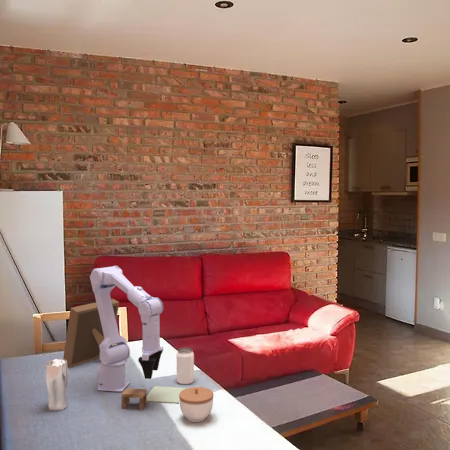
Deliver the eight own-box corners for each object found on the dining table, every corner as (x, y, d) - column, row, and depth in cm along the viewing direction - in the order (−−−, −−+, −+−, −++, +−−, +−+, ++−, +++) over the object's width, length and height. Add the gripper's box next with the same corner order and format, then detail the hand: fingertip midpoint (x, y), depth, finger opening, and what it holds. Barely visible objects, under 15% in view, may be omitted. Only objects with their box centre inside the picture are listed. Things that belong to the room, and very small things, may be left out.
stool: (121, 408, 154) (121, 393, 154) (126, 402, 159) (126, 388, 158) (142, 410, 153) (142, 395, 153) (146, 403, 158) (146, 389, 157)
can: (191, 385, 173) (191, 353, 172) (174, 384, 174) (174, 352, 174) (195, 378, 179) (195, 347, 179) (179, 377, 181) (179, 346, 180)
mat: (144, 401, 160) (144, 400, 159) (154, 387, 171) (154, 386, 171) (178, 403, 158) (178, 402, 158) (186, 389, 170) (186, 388, 170)
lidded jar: (200, 429, 140) (200, 398, 140) (172, 420, 146) (172, 390, 146) (219, 415, 150) (219, 386, 149) (192, 407, 155) (192, 379, 155)
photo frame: (62, 365, 193) (61, 305, 191) (104, 351, 211) (104, 296, 209) (85, 374, 184) (85, 311, 183) (127, 358, 202) (127, 301, 200)
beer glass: (47, 413, 151) (46, 367, 150) (45, 404, 157) (44, 360, 156) (70, 408, 154) (69, 364, 153) (66, 400, 160) (66, 357, 159)
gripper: (156, 341, 150) (157, 383, 151) (168, 329, 165) (168, 366, 165) (135, 340, 151) (136, 382, 152) (148, 328, 165) (148, 366, 166)
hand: (151, 374), depth 159 cm, fingers open, 7 cm apart
